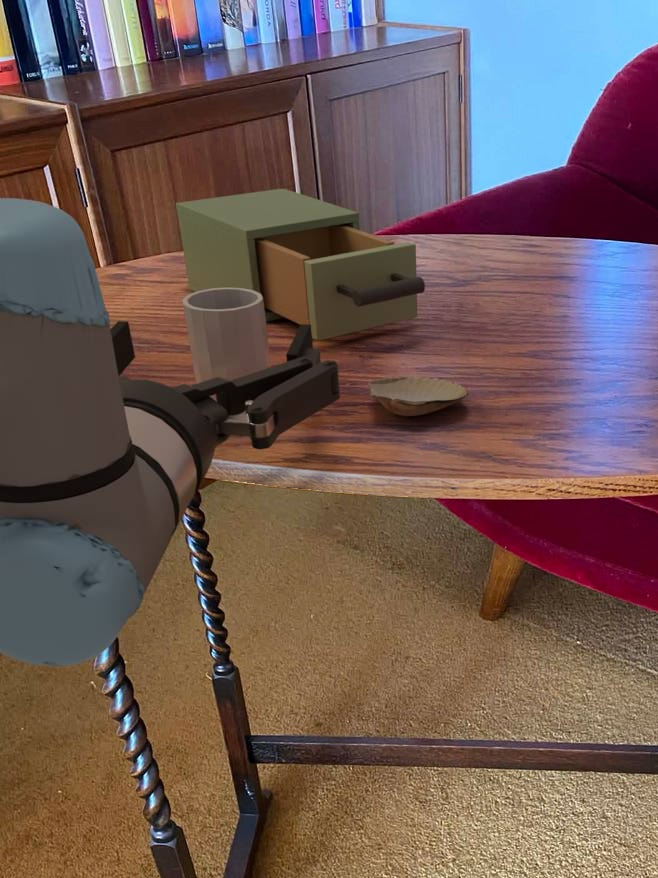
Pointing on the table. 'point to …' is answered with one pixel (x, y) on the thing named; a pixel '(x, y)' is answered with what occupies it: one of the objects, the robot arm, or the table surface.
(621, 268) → the table surface
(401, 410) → the seashell
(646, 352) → the table surface
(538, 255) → the table surface
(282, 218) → the cabinet
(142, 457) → the robot arm
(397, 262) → the drawer
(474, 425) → the table surface
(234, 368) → the canister
